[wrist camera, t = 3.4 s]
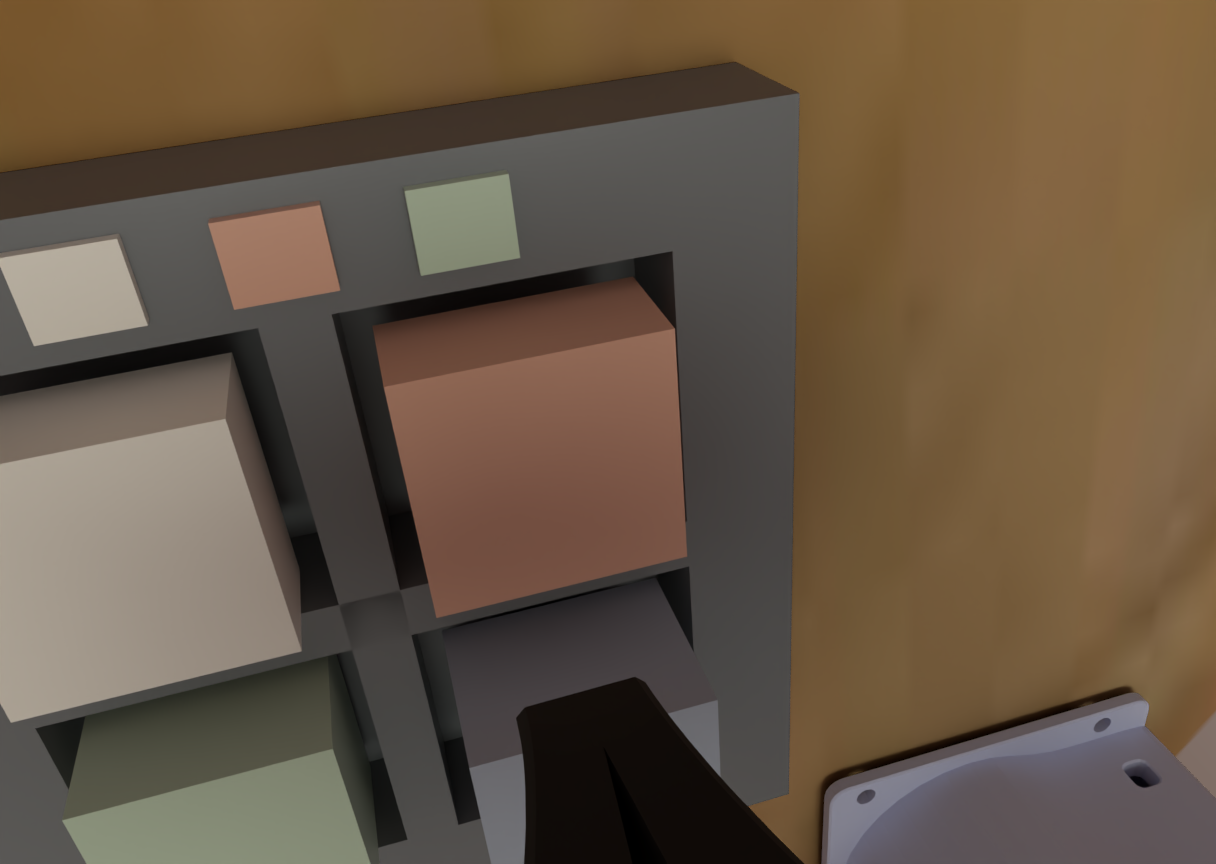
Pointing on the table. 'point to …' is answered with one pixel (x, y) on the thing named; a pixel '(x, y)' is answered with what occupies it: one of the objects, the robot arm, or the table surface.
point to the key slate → (566, 686)
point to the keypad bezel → (355, 397)
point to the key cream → (137, 537)
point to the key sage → (228, 775)
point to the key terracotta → (537, 440)
